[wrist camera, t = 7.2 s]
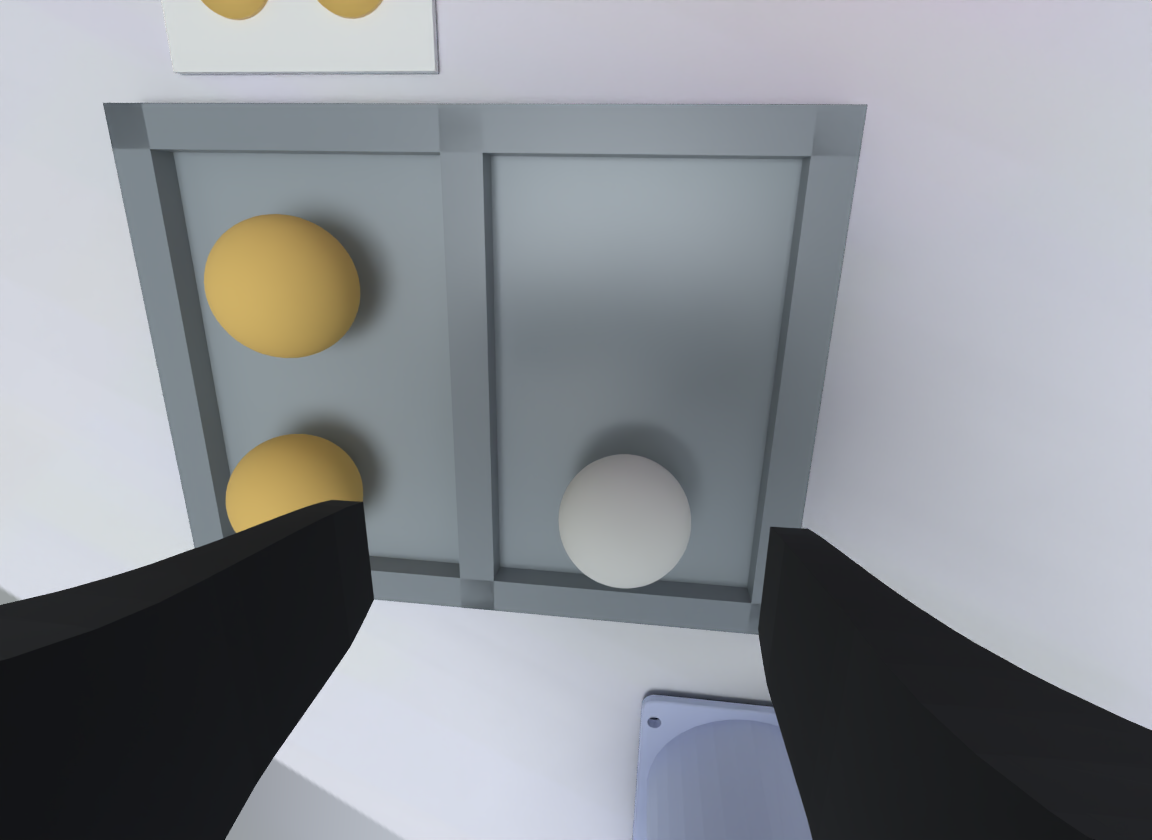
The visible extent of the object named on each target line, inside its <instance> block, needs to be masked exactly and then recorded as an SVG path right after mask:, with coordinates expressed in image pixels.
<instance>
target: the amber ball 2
mask: <svg viewBox="0 0 1152 840" xmlns="http://www.w3.org/2000/svg"><path fill="white" fill-rule="evenodd" d="M329 500H343V501H360V502H363V484H362V479H361V476H360V473H359V471H358V468H357V467H356V465H355V463H354V462H353V460H352V459H351V458H350V456H349V455H348V454H347V453H346V452H345V451H344V450H343V449H341V448H340V447H339V446H337V445H336V444H334V443H332V442H331V441H329V440H327V439H324V438H321V437H318V436H314V435H308V434H288V435H282V436H278V437H275V438H272V439H269V440H267V441H265V442H263V443H261V444H259V445H258V446H256V447H255V448H253V449H252V450H250V451H249V452H248V453H247V454H246V455H245V456H244V457H243V458H242V459H241V460H240V462H239V463H238V464H237V466H236V467H235V469H234V471H233V472H232V474H231V476H230V479H229V482H228V485H227V490H226V510H227V514H228V518H229V521H230V523H231V525H232V527H233V529H234V531H235V532H236V533H238V532H240V531H243V530H246V529H248V528H251V527H253V526H256V525H258V524H261V523H264V522H266V521H269V520H271V519H274V518H277V517H279V516H282V515H285V514H287V513H290V512H293V511H295V510H298V509H301V508H304V507H307V506H310V505H313V504H317V503H320V502H324V501H329Z"/></svg>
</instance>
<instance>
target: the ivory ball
mask: <svg viewBox="0 0 1152 840" xmlns="http://www.w3.org/2000/svg"><path fill="white" fill-rule="evenodd" d="M558 521H559V532H560V537H561V540H562V543H563V546H564V548H565V550H566V552H567V554H568V556H569V558H570V559H571V560H572V562H573V563H574V564H575V565H576V566H577V568H578V569H579V570H580V571H581V572H583V573H584V574H585V575H586V576H588V577H589V578H591V579H593V580H594V581H596V582H598V583H601V584H604V585H607V586H610V587H615V588H637V587H642V586H645V585H648V584H651V583H653V582H655V581H657V580H659V579H660V578H662V577H663V576H665V575H666V574H667V573H668V572H670V571H671V570H672V569H673V568H674V567H675V566H676V564H677V563H678V561H679V560H680V559H681V557H682V556H683V554H684V552H685V550H686V547H687V544H688V541H689V538H690V533H691V512H690V507H689V503H688V500H687V497H686V495H685V492H684V490H683V489H682V487H681V486H680V484H679V482H678V481H677V480H676V479H675V477H674V476H673V475H672V474H671V473H670V472H669V471H668V470H667V469H665V468H664V467H662V466H661V465H659V464H658V463H656V462H654V461H652V460H650V459H647V458H645V457H641V456H637V455H630V454H618V455H611V456H607V457H604V458H601V459H599V460H596V461H594V462H592V463H590V464H589V465H587V466H586V467H585V468H583V469H582V470H581V471H580V472H579V473H578V474H577V475H576V476H575V477H574V478H573V479H572V481H571V482H570V483H569V485H568V487H567V489H566V491H565V493H564V495H563V498H562V500H561V504H560V509H559V518H558Z"/></svg>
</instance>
